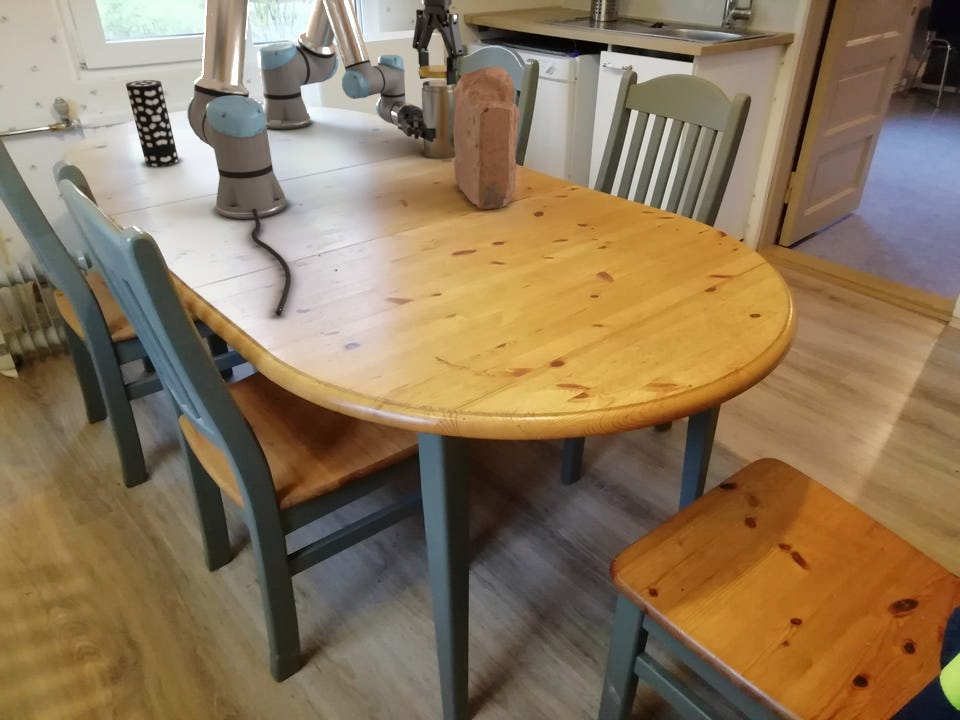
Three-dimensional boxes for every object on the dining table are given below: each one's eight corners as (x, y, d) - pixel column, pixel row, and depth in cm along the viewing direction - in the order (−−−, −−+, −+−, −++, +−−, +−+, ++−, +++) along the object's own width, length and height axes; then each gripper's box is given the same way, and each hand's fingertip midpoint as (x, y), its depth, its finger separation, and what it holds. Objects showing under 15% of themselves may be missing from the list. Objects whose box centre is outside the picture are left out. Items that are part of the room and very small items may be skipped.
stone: (526, 207, 159) (530, 77, 145) (480, 212, 156) (479, 80, 142) (495, 182, 177) (496, 64, 162) (453, 186, 174) (450, 66, 159)
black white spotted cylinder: (184, 157, 190) (167, 80, 179) (169, 166, 183) (151, 87, 172) (155, 156, 190) (136, 79, 179) (139, 165, 183) (119, 86, 172)
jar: (437, 160, 191) (436, 88, 180) (417, 153, 196) (414, 82, 186) (463, 154, 196) (462, 83, 186) (442, 147, 202) (441, 78, 191)
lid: (443, 79, 179) (443, 73, 178) (411, 75, 183) (411, 69, 182) (463, 74, 186) (463, 67, 186) (431, 70, 190) (431, 63, 190)
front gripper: (478, -10, 169) (477, 86, 181) (418, -16, 183) (420, 73, 194) (456, -9, 165) (456, 89, 177) (396, -15, 178) (400, 76, 190)
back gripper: (440, 125, 212) (481, 142, 197) (376, 135, 202) (413, 154, 186) (440, 100, 208) (481, 115, 193) (374, 108, 198) (412, 125, 182)
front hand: (437, 81), depth 186 cm, fingers closed on lid, 10 cm apart
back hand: (447, 134), depth 190 cm, fingers closed on jar, 9 cm apart
